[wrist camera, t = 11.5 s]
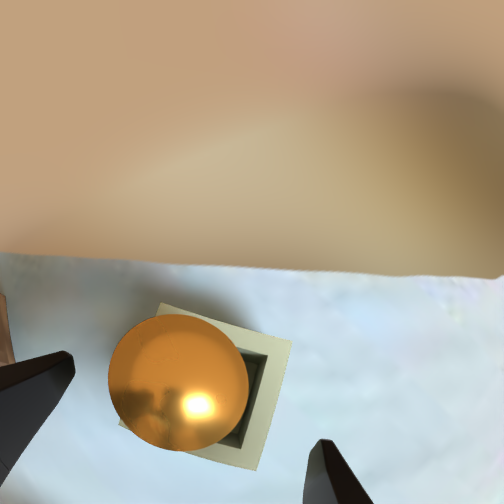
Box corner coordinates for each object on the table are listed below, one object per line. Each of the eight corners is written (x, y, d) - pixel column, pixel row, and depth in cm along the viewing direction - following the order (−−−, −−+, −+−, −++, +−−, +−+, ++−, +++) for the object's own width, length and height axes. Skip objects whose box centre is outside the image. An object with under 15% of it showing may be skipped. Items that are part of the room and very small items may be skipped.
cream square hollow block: (247, 447, 15) (256, 470, 10) (149, 416, 16) (118, 424, 10) (274, 355, 19) (292, 341, 13) (179, 327, 19) (160, 302, 14)
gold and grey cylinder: (189, 414, 15) (117, 450, 4) (183, 368, 17) (105, 318, 6) (238, 409, 16) (260, 443, 5) (231, 362, 17) (236, 306, 6)
